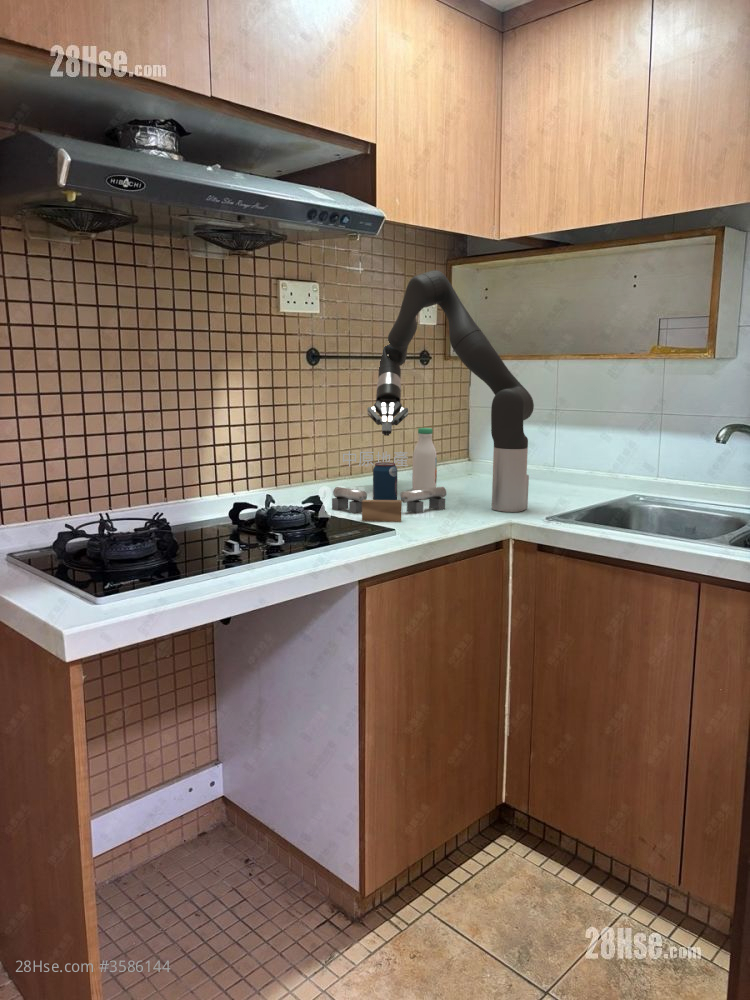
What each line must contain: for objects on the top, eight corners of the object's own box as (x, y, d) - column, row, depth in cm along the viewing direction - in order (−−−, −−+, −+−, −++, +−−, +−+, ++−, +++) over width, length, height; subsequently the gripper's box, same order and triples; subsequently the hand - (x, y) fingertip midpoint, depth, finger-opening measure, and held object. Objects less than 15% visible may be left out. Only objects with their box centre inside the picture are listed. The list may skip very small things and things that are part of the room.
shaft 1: (368, 512, 194) (368, 490, 193) (357, 514, 191) (357, 491, 190) (342, 507, 201) (342, 486, 200) (332, 509, 198) (331, 487, 197)
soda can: (401, 506, 203) (402, 464, 201) (380, 508, 200) (380, 465, 197) (389, 502, 209) (389, 461, 207) (368, 504, 206) (368, 462, 203)
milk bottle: (433, 493, 225) (434, 429, 221) (409, 491, 227) (410, 428, 224) (438, 489, 232) (439, 427, 229) (415, 488, 235) (416, 427, 231)
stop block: (362, 518, 185) (362, 499, 184) (401, 519, 185) (401, 500, 184) (361, 521, 182) (362, 501, 181) (401, 521, 182) (401, 502, 181)
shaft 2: (437, 506, 202) (437, 485, 201) (447, 509, 199) (447, 487, 198) (399, 512, 194) (399, 490, 193) (408, 514, 191) (408, 492, 190)
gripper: (367, 381, 219) (363, 425, 209) (410, 382, 218) (409, 426, 208) (367, 398, 225) (364, 441, 215) (409, 399, 224) (408, 442, 214)
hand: (386, 433), depth 212 cm, fingers closed
